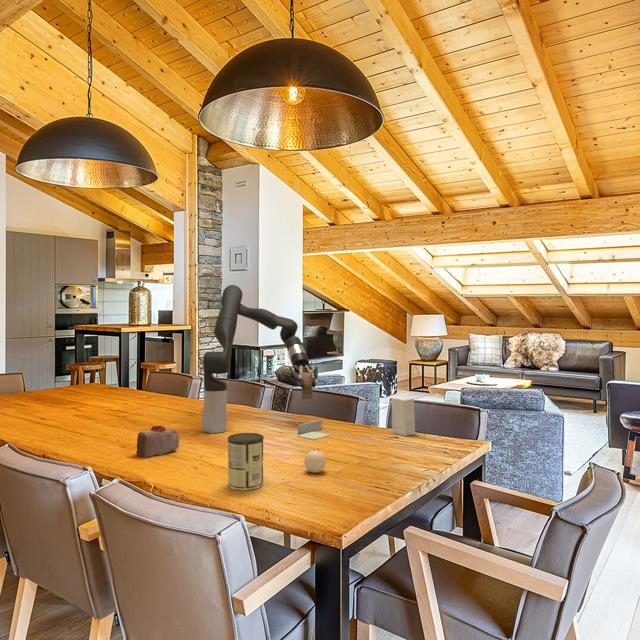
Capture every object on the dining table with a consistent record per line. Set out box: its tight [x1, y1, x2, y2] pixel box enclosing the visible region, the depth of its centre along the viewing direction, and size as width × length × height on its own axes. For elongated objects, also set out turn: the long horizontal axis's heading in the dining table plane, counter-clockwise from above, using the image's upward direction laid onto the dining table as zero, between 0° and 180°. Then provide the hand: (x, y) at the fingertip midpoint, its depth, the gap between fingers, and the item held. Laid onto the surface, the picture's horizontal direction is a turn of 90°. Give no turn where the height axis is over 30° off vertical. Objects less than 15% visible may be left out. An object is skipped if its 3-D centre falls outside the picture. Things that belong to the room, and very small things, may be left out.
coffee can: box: [227, 432, 264, 491], centre depth 157 cm, size 10×10×14 cm
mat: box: [296, 431, 331, 441], centre depth 220 cm, size 10×9×1 cm
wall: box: [297, 419, 323, 435], centre depth 227 cm, size 14×1×4 cm, turn 140°
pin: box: [301, 371, 313, 400], centre depth 236 cm, size 5×5×11 cm
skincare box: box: [391, 396, 416, 437], centre depth 225 cm, size 8×6×15 cm
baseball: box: [303, 450, 327, 474], centre depth 171 cm, size 7×7×7 cm
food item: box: [135, 425, 180, 458], centre depth 192 cm, size 14×8×10 cm, turn 139°
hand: (308, 386), depth 234 cm, fingers closed on pin, 4 cm apart
